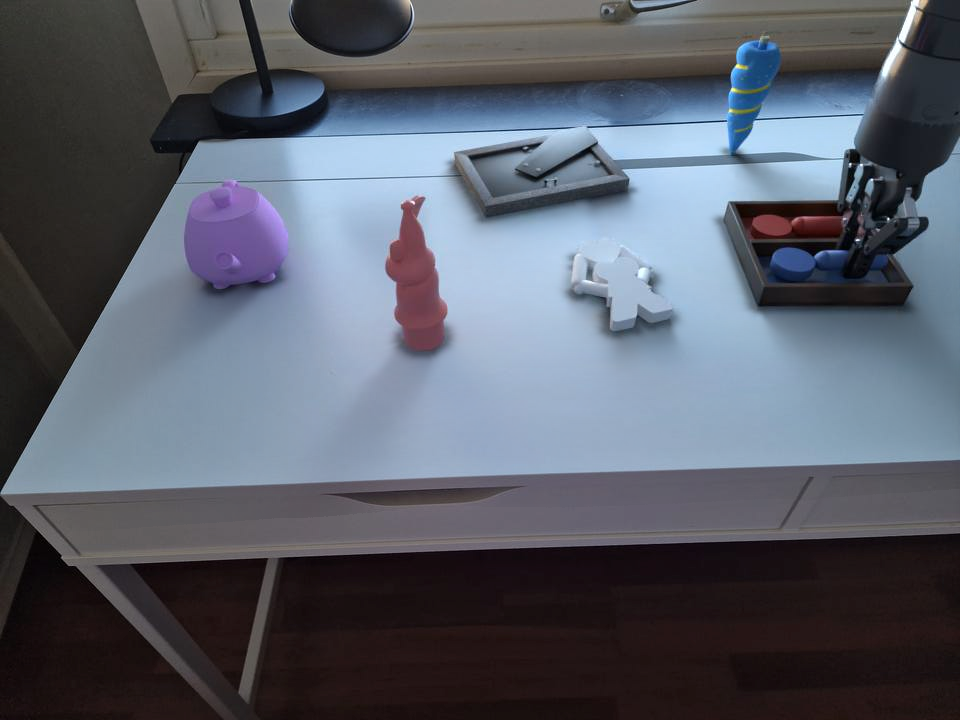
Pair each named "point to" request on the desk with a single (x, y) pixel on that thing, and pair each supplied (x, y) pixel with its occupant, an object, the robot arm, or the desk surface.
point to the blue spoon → (813, 263)
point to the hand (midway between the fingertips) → (847, 267)
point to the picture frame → (539, 172)
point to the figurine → (416, 283)
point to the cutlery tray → (821, 285)
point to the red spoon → (795, 226)
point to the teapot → (234, 236)
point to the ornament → (750, 87)
